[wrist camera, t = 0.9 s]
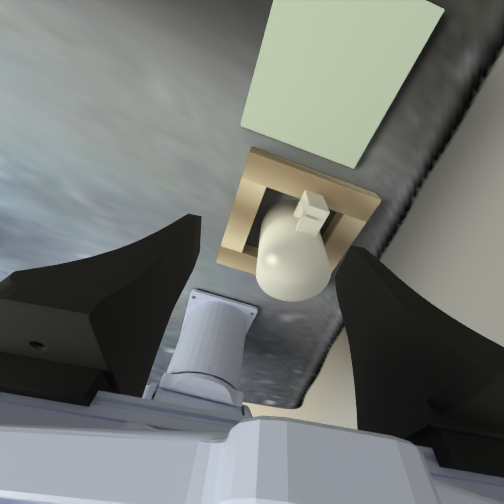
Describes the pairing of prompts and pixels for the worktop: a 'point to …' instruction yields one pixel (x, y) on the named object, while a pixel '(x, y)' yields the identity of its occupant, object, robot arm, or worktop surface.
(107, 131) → the worktop surface
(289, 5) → the sage board
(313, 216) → the jug
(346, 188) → the collar
